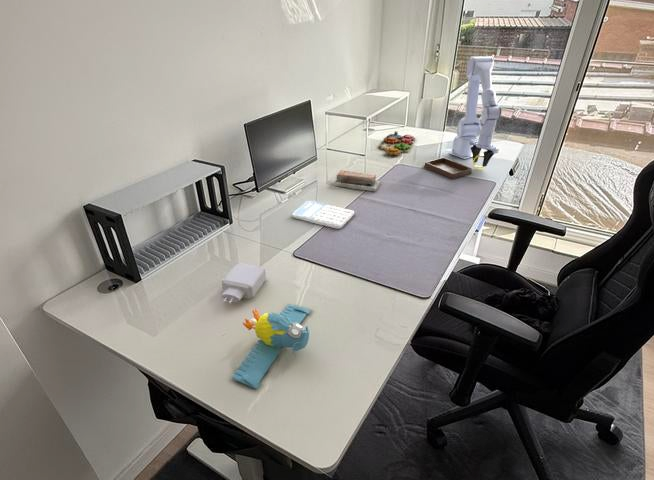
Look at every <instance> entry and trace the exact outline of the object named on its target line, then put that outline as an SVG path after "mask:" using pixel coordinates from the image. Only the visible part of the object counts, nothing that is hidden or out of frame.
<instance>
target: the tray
mask: <svg viewBox="0 0 654 480" xmlns="http://www.w3.org/2000/svg"><path fill="white" fill-rule="evenodd" d="M424 168H426V169H428V170H431V171H433V172H435V173H437V174H440V175H442V176H444V177H446V178H450V179H451V180H454V179H457V178H460V177H463V176H468V175H471V174H472V170H473V168H472V167H469V166H467V165H464V164H462V163H460V162H458V161H454V160H452V159H449V158H447V157H445V156H444V157H443V156H442V157H438V158H436V159H431V160H428V161H425V162H424Z"/></svg>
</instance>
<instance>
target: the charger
mask: <svg viewBox="0 0 654 480" xmlns="http://www.w3.org/2000/svg"><path fill="white" fill-rule="evenodd" d="M266 274H267V273H266V269H265V268H264V267H262V266H257V265H253V264H252V265H251V264H247V263H242V262H238V263H236V264H235V265H234V266H233V267H232V268H231V270H230V271H229V272H228V273H227V274H226V275H225V277H223V279H222V280H221V286H222V290H223V292H222V294H221V295H220V297H221V298H222V299H223V300H222V303H225V302H226V301H228V304H231V303H232V302H233V303H236V302H240V301H241V299H252V298H254V297H255V296H256V294H257V292H258V291H259V289H260V288H261V287H262V285H263V284H264V283H265V281H266V280H267V275H266Z"/></svg>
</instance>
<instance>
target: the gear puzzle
mask: <svg viewBox="0 0 654 480" xmlns="http://www.w3.org/2000/svg"><path fill="white" fill-rule="evenodd" d="M415 141H416V137H415V136H413V135H412V134H404V135H401V134H399V132H398V131H397V130H395V131H394V132H393V133H389V134H387V135H386V136H385V137H384V139H383V140H382V141H381V144H379V145H378V148H380V150H384V153H385V154H386V155H390V156H392V155H393V156H397V155H399V156H400V155H401V154H402V153H409V151H410V149H411V148H412V146H413V144H414V142H415Z"/></svg>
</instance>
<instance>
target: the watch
mask: <svg viewBox="0 0 654 480" xmlns="http://www.w3.org/2000/svg"><path fill="white" fill-rule="evenodd" d="M477 157H478V158H484V153H480V154H479V155H477V156H476V157H475V158H474V160H473V159H472V165H473V166H474V167H475V168H480V169H483V168H484V167H483V166H482V165H476V164H475V163H474V161H475V159H476V158H477Z"/></svg>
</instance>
